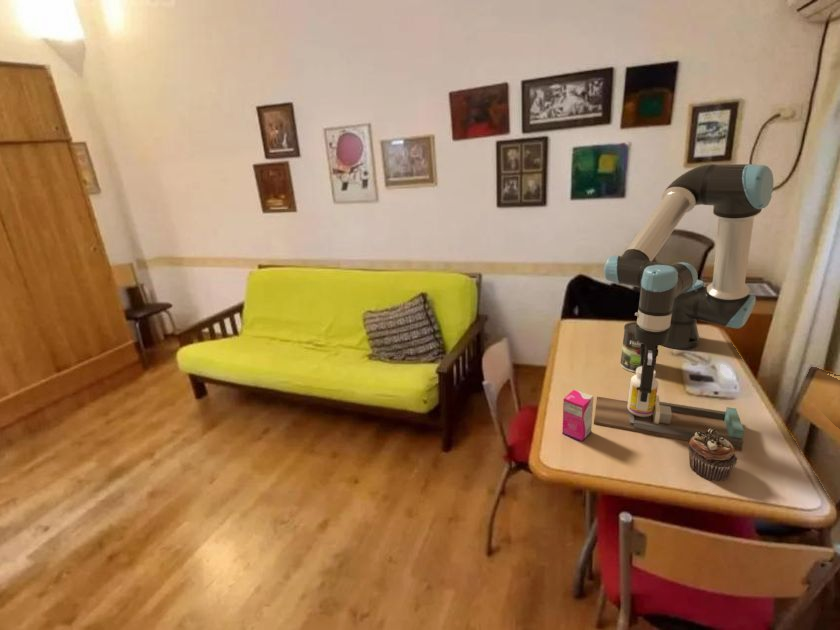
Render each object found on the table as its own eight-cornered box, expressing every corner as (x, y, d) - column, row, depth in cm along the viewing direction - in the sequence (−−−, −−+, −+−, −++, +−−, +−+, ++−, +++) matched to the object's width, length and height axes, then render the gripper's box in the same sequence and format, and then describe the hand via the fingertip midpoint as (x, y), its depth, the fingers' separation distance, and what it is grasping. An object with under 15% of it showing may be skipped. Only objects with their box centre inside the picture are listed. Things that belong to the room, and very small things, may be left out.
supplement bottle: (656, 418, 117) (663, 377, 112) (630, 417, 119) (635, 376, 114) (649, 404, 123) (656, 364, 118) (624, 403, 125) (629, 363, 120)
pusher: (652, 407, 124) (654, 393, 122) (668, 410, 122) (670, 396, 121) (653, 427, 116) (656, 412, 115) (670, 430, 115) (673, 415, 113)
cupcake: (715, 489, 97) (724, 453, 93) (675, 463, 105) (682, 429, 101) (743, 475, 100) (752, 439, 97) (702, 450, 109) (710, 416, 105)
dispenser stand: (596, 398, 132) (598, 385, 130) (731, 420, 118) (734, 405, 117) (593, 423, 121) (595, 409, 119) (741, 450, 108) (745, 434, 106)
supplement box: (571, 423, 122) (573, 388, 118) (591, 432, 118) (595, 396, 114) (560, 433, 118) (563, 397, 114) (581, 442, 114) (584, 406, 110)
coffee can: (654, 375, 142) (660, 336, 136) (620, 371, 146) (624, 332, 140) (652, 360, 150) (657, 323, 145) (619, 357, 154) (623, 320, 149)
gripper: (636, 310, 121) (627, 382, 130) (636, 340, 105) (625, 420, 113) (667, 313, 118) (655, 386, 127) (671, 344, 102) (658, 425, 110)
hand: (641, 402), depth 120 cm, fingers closed on supplement bottle, 7 cm apart
